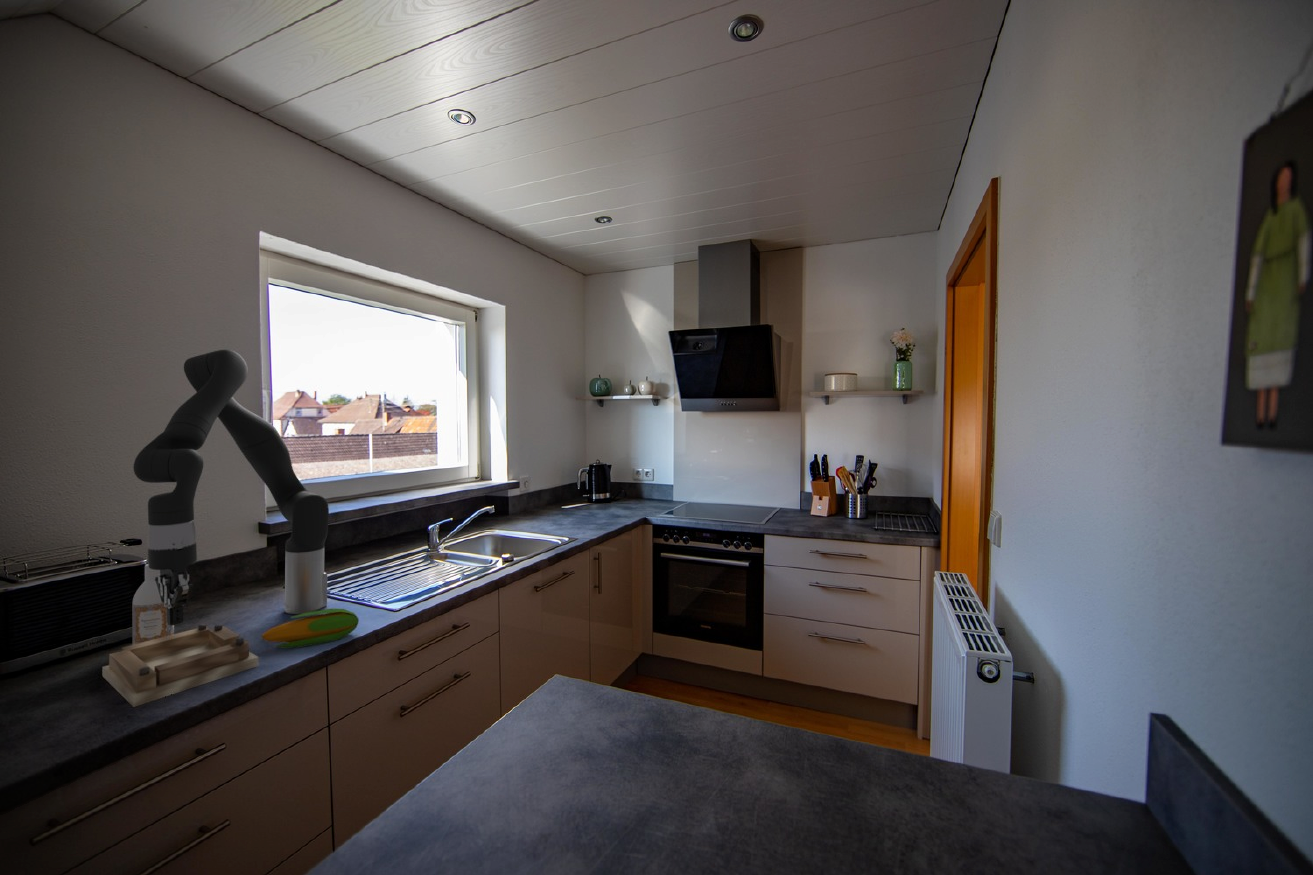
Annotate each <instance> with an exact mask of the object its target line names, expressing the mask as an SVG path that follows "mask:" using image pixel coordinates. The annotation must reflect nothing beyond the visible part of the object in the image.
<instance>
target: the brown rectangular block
mask: <svg viewBox="0 0 1313 875" xmlns="http://www.w3.org/2000/svg"><path fill="white" fill-rule="evenodd" d="M249 652H250V641H249V640H245V637H244V636H239V638H237V639H236V642H235V643H233V644H230V645H226V646H223V647H219V648H216V649H213V650H209V651H206V652H202V653H199V654H195V655H192V656H189V657H185V658H182V659H178V660H175V661H171V662H168V663H165V664H161V665H158V666H155V672H156V683H157V684H159V685H163V684H166V683H169V682H172V681H175V680H178V679H182V678H185V677H188V676H191V675H194V674H197V673H200V672H204V671H207V670H210V669H213V668H216V667H219V666H222V665H226V664H229V663H232V662H235V661H238V660H243V659H245V658H247V657H249Z"/></svg>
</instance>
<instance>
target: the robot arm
mask: <svg viewBox="0 0 1313 875" xmlns="http://www.w3.org/2000/svg"><path fill="white" fill-rule="evenodd" d="M183 372H184V374H185V376H186V379H187V381H188V382H189V384H190V385H191V386H192V387H193V389H194V391H195V392H196V393H194V394H193V395H192V396H191V397H190V398H188V399H187V400H186V401H184V403H182V404H181V405H180V406H179V407H178V408H177V410H175V412H174V413H173V415H172V416H171V418H170V420H169V422H168V423H167V424H166V427H165V428H164V430H163V432H161V433H160V434H158V435H157V436H156V437H155V438H154V439H153V440H151V441H150V442H149V443H148V444H146V446H144V447H143V448H142V449H141V450H140V451H139V453H138V454H137V455H136V457H135V458H134V463H133V472H134V475H135V476H136V478H137V479H138V480H140V481H142V482H144V483H149V484H150V483H153V484H155V483H157V484H158V483H161V484H162V483H176V485H175V488H174V489H173V490H172V491H171V492H164V493H159V494H156V495H153V496H151V497H150V498H149V499H148V501H147V518H148V519H147V520H148V528H147V534H146V535H147V537H146V538H147V539H146V540H147V564H148V566H149V568H150V569H153V570H160V575H159V576H158V577H155V581H156V584H157V588H158V591H159V594H160V598H161V601H162V602H164V605H165V607H167V623H168V624H169V625H174V626H176V625H179V624H182V623H183V622H184V606H186V605H188V604H189V602H190V599H191V596H192V593H193V590H194V584H193V583H190V584H188V583H189V581H190V574H189V572H187V568H188V566H191V565H194V564H195V563H196V562H197V560H198V555H197V529H196V524H195V513H194V512H195V511H194V510H195V509H194V508H195V506H194V504H195V503H194V502H195V496H196V492H197V488H198V484H199V481H200V479H201V476H202V474H203V468H204V459H203V457H202V455H201V454H200V453H199V452H198V451H197V450H200V449H201V448H202V447H203V445H204V444H205V443H206V440H207V437H208V436H209V433H210V431H211V430H212V427H213V425H214V424H215V422H216V420H217V418H218V419H219V421H220V422H221V423H222V425H223V426H224V428H225V429H226V430H227V432H228V433H229V434H230V436H231V438H232V439H233V441H234V442H235V444H236V446H237V447H238V449H239V450H240V452H241V453H242V455H243V456H244V458H245V459H246V460H247V462H248V463H249V464H250V465H251V468H252V469H253V470H254V471H255V472H256V474H257V475H258V477H259V478H260V479H261V481H262V482H263V483H264V484H265V485H266V487H267V488H268V490H269V491H270V494H271V495H272V498H273V500H274V501H275V504H276V505H277V507H278V509H279V511H280V513H281V515H282V516H283V518H285V520H286V521H288V522H290V523H291V535H290V537H289V538H288V539H286V541H285V544H284V545H285V546H284V547H285V549H284V550H285V558H284V559H285V561H284V562H285V563H284V564H285V566H284V567H285V568H284V571H285V572H284V575H285V576H284V578H285V579H284V612H285V613H286V614H289V615H290V614H291V615H300V614H304V613H309V612H314V611H319V610H320V609H322V608H324V607H327V605H328V573H327V572H325V544H326V540H327V537H328V532H329V515H330V511H329V510H330V509H329V504H328V501H327V500H326V498H325V497H323V496H322V495H320V494H317V493H314V492H310V491H309V490H308V489H307V488H306V487H305V486H304V485H303V483H302V482H301V481H300V480H299V478H298V477H297V475H296V473H295V471H294V468H293V464H292V459H291V456H290V452H289V449H288V446H287V444H286V443H285V440H284V439H283V438H282V437H281V435H280V432H278V430H277V429H276V427H275V426H274V424H271V422H269V421H268V420H266V419H265V418H263V417H262V416H260V415H258V414H255V413H254V412H252V411H251V410H249V409H247V408H245V407H244V406H243V405H241V404H240V403H238V401H236V399H235V398H234V397H233V396H234V395H235V394H236V392H237V391H238V390H239V389H240V388H241V387H242V386H243V384H244V383H245V382H246V380H247V377H248V375H249V368H248V364H247V363H246V361H245V359H244V358H243V356H241V355H240V353H238V352H236V351H234V350H232V349H218V350H214V351H209V352H207V353H204V354H199V355H195V356H193V357H190V358H188V359H186V360H185V362H184V363H183Z"/></svg>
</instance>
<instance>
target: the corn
mask: <svg viewBox="0 0 1313 875" xmlns="http://www.w3.org/2000/svg"><path fill="white" fill-rule="evenodd" d="M301 617H302V618H301ZM290 618H291V619H295V618H298V619H295V620H290V621H288V622H285V623H282V624H279V625H277V626H274V627H272V628H269V629H268V630H266V631H265V632H264V633H262V634H261V635H260V636H261V638H262V640H264V641H266V642H271V643H272V642H274V643H275V642H276V643H281V644H277V645H276V648H279V649H280V648H281V649H285V648H286V649H290V648H291V649H292V648H293V649H294V648H300V647H302V648H303V647H308V646H309V647H310V646H315V645H318V644H324V643H329V642H335V641H340V640H341V639H343V638H345V637H347V636H348V635H350V634H351V633H352V632H353V631H354V630H356V628H357V627H358V625H359V621H360V620H359V617H358V616H357V614H355V612H353V611H350V610H348V609H346V608H326V609H322V610H320V609H319V610H316V611H313V612H308V613H302V614H295V615H293V616H290Z"/></svg>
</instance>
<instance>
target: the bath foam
mask: <svg viewBox="0 0 1313 875" xmlns="http://www.w3.org/2000/svg"><path fill="white" fill-rule="evenodd" d="M159 575H160V570H153V569H150V568H149V566H148V563H146V564H145V565H144V581H143V582H142V583H141V585H140V586H139V587H138V588H137V589H136V592H135V594H134V595H133V598H132V604H131V605H132V607H131V609H132V620H131V621H132V624H131V626H132V629H131V631H132V633H131V634H132V645H134V644H138V643H142V642H146V641H150V640H154V639H158V638H162V637H165V636H169V635H173V634H175V625H169V624H168V623H167V607H165V605H164V602H162V601H161V598H160V594H159V591H158V588H157V584H156V581H155V577H158V576H159Z"/></svg>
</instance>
